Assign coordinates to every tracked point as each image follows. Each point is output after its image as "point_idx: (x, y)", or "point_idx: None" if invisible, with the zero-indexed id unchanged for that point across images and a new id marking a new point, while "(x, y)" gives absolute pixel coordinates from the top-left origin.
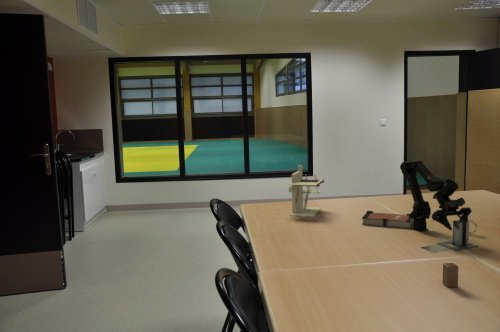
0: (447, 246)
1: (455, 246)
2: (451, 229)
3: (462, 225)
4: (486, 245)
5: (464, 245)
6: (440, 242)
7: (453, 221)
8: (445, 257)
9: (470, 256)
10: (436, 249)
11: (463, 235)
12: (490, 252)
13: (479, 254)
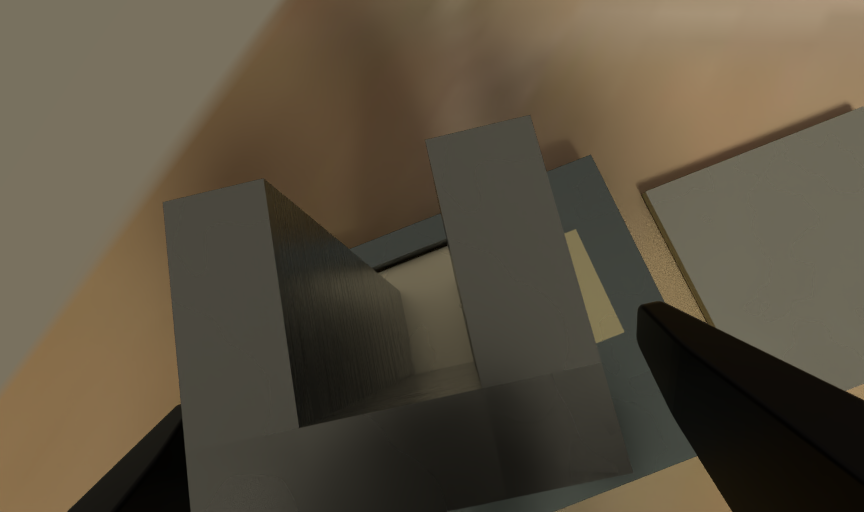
0: (638, 276)
1: None
2: (654, 303)
3: (341, 360)
4: (126, 354)
5: (401, 311)
6: (666, 463)
7: (617, 447)
8: (764, 8)
9: (497, 27)
10: (797, 224)
11: (382, 328)
12: (240, 127)
13: (379, 77)
